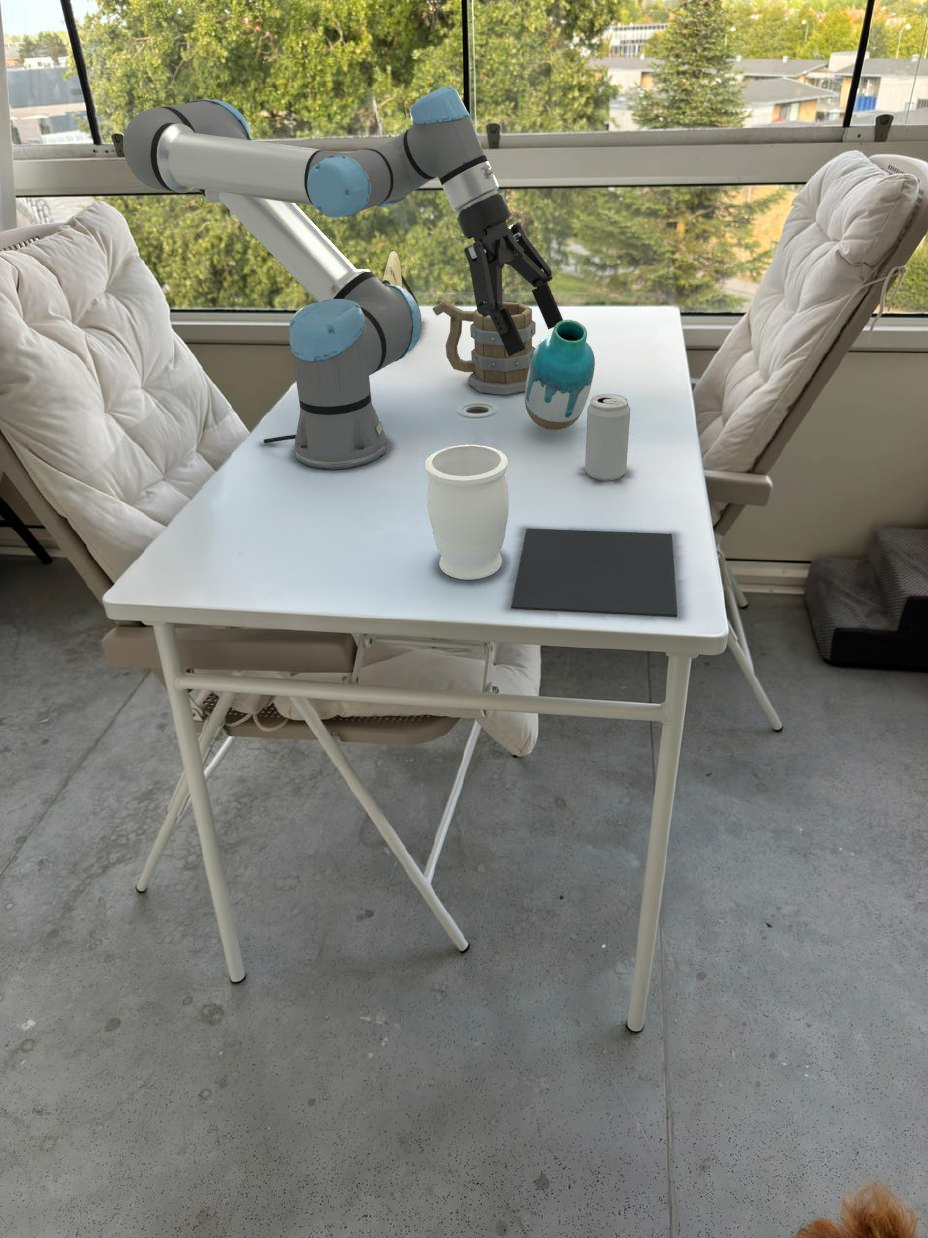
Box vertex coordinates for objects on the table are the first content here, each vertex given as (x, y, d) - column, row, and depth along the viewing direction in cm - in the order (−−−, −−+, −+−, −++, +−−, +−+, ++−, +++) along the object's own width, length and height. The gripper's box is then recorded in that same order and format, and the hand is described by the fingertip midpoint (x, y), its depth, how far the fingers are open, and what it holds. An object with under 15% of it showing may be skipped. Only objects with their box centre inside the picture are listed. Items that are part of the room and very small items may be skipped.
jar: (502, 588, 119) (500, 481, 110) (423, 582, 121) (415, 476, 112) (515, 547, 127) (514, 444, 119) (441, 542, 129) (435, 441, 121)
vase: (578, 395, 164) (600, 308, 148) (584, 441, 159) (607, 356, 142) (518, 393, 163) (534, 305, 147) (522, 439, 158) (539, 353, 141)
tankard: (545, 374, 183) (545, 296, 174) (524, 397, 173) (524, 316, 165) (450, 366, 189) (446, 290, 181) (426, 387, 180) (420, 308, 171)
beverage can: (598, 461, 149) (602, 389, 142) (634, 471, 145) (639, 397, 139) (576, 475, 145) (579, 402, 138) (612, 486, 141) (616, 411, 135)
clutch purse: (417, 354, 196) (412, 280, 188) (384, 355, 196) (377, 282, 188) (422, 313, 221) (418, 246, 212) (393, 314, 221) (387, 247, 213)
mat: (511, 608, 115) (511, 606, 115) (526, 530, 131) (526, 528, 131) (676, 616, 112) (677, 614, 112) (671, 535, 128) (671, 533, 128)
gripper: (454, 208, 125) (519, 355, 132) (535, 175, 143) (590, 307, 149) (414, 231, 130) (479, 372, 137) (497, 197, 148) (552, 323, 154)
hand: (537, 338), depth 143 cm, fingers open, 13 cm apart
